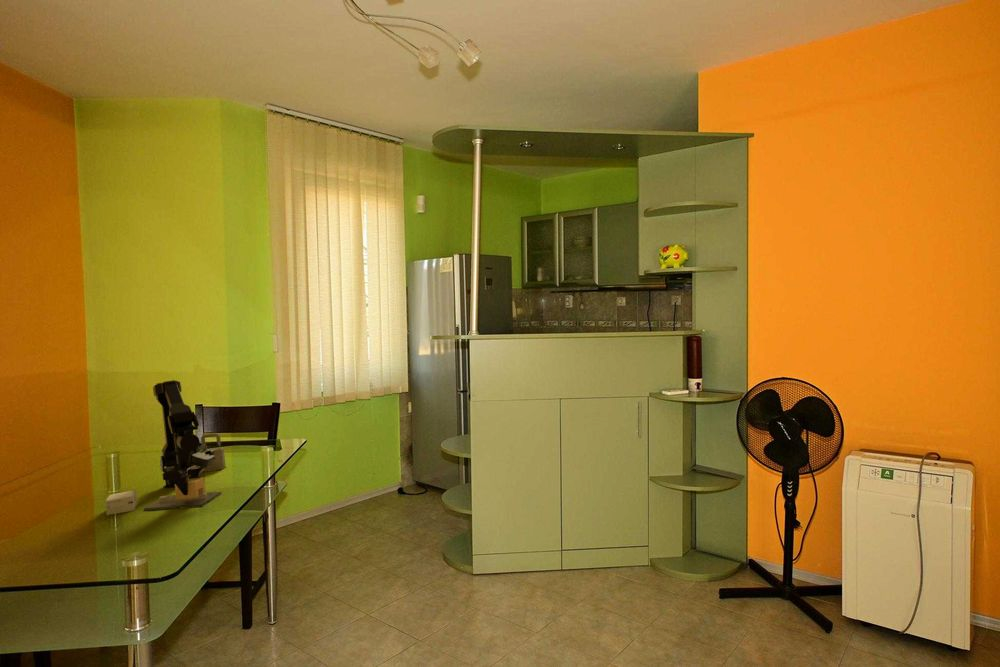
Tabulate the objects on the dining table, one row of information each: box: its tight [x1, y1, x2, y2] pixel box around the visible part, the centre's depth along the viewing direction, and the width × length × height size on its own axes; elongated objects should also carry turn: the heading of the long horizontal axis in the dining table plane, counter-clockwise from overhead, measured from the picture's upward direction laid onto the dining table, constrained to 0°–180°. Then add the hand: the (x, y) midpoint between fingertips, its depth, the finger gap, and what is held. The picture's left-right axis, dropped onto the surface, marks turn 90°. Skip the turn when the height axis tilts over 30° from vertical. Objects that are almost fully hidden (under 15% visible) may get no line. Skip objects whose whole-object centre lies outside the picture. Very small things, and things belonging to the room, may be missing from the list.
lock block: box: [174, 477, 206, 499], centre depth 195 cm, size 7×5×5 cm
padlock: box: [200, 432, 227, 472], centre depth 235 cm, size 4×8×15 cm, turn 98°
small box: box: [105, 489, 138, 516], centre depth 193 cm, size 8×8×5 cm
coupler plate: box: [143, 491, 222, 512], centre depth 195 cm, size 20×12×2 cm, turn 88°
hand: (190, 492), depth 195 cm, fingers closed on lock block, 5 cm apart
